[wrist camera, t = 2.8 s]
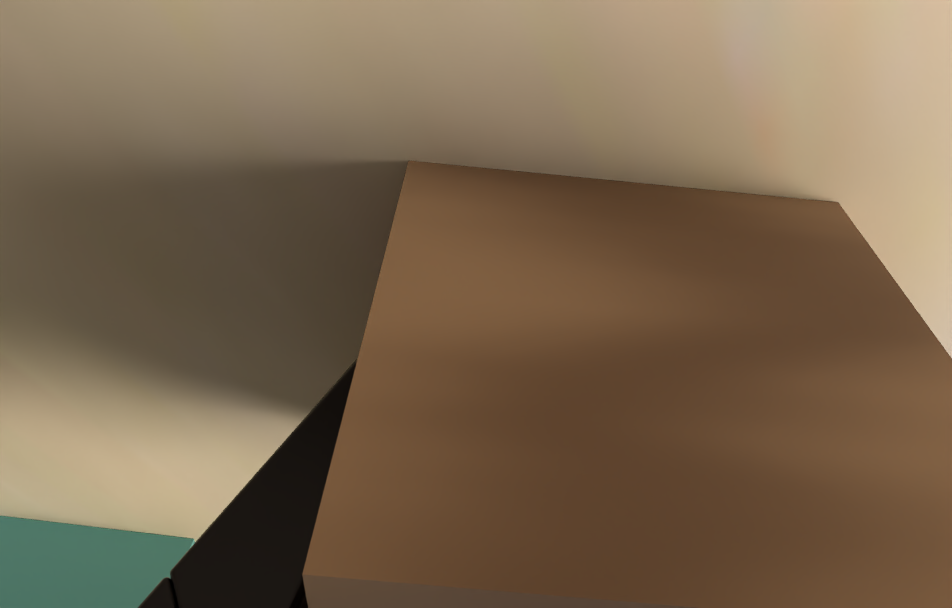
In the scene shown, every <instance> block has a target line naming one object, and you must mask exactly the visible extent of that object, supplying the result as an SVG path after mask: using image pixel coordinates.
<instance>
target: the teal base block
mask: <svg viewBox="0 0 952 608" xmlns="http://www.w3.org/2000/svg"><path fill="white" fill-rule="evenodd" d="M194 543H195V542H194V539H191V538H183V537H175V536H166V535H158V534H149V533H141V532H133V531H124V530H116V529H108V528H99V527H91V526H82V525H74V524H66V523H57V522H49V521H41V520H32V519H24V518H15V517H7V516H0V608H138V606H139V605H140V604H141V603H142V602H143V601H144V600H145V598H146V597H147V596H148V595H149V594H150V593H151V592H152V590H153V589H154V588H155V587H156V586H157V585H158V584H159V582H160V581H161V580H162V579H163V578H165V577H169V578H170V571H171V569H172V568H173V567H174V566H175V565H176V564H177V563H178V561H179V560H180V559H181V558H182V557H183V556H184V555H185V554H186V552H187V551H188V550H189V549H190V548H191V547H192V546H193V544H194ZM170 579H171V578H170Z"/></svg>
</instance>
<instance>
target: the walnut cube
mask: <svg viewBox="0 0 952 608" xmlns="http://www.w3.org/2000/svg"><path fill="white" fill-rule="evenodd" d="M302 576H303V582H304V587H305V593H306V598H307V604H308V608H952V358H951V357H950V356H949V354H948V353H947V352H946V350H945V349H944V347H943V346H942V345H941V343H940V342H939V341H938V339H937V338H936V336H935V335H934V334H933V332H932V331H931V330H930V328H929V327H928V325H927V324H926V323H925V321H924V320H923V319H922V317H921V316H920V314H919V313H918V312H917V310H916V309H915V308H914V306H913V305H912V303H911V302H910V301H909V299H908V298H907V297H906V295H905V294H904V292H903V291H902V290H901V288H900V287H899V286H898V284H897V283H896V281H895V280H894V279H893V277H892V276H891V275H890V273H889V272H888V270H887V269H886V268H885V266H884V265H883V264H882V262H881V261H880V259H879V258H878V257H877V255H876V254H875V253H874V251H873V250H872V248H871V247H870V246H869V244H868V243H867V242H866V240H865V239H864V237H863V236H862V235H861V233H860V232H859V231H858V229H857V228H856V226H855V225H854V224H853V222H852V221H851V219H850V218H849V217H848V215H847V214H846V213H845V211H844V210H843V208H842V207H841V206H840V204H839V203H838V202H828V201H817V200H807V199H797V198H787V197H776V196H766V195H756V194H746V193H735V192H725V191H715V190H705V189H694V188H684V187H674V186H664V185H653V184H643V183H633V182H623V181H612V180H602V179H592V178H582V177H571V176H561V175H551V174H541V173H530V172H520V171H510V170H500V169H489V168H479V167H469V166H459V165H448V164H438V163H428V162H418V161H408V165H407V169H406V173H405V177H404V181H403V184H402V188H401V192H400V196H399V200H398V204H397V208H396V212H395V216H394V219H393V223H392V227H391V231H390V235H389V239H388V243H387V247H386V251H385V254H384V258H383V262H382V266H381V270H380V274H379V278H378V282H377V286H376V289H375V293H374V297H373V301H372V305H371V309H370V313H369V317H368V321H367V325H366V328H365V332H364V336H363V340H362V344H361V348H360V352H359V356H358V360H357V363H356V367H355V371H354V375H353V379H352V383H351V387H350V391H349V395H348V398H347V402H346V406H345V410H344V414H343V418H342V422H341V426H340V430H339V433H338V437H337V441H336V445H335V449H334V453H333V457H332V461H331V465H330V468H329V472H328V476H327V480H326V484H325V488H324V492H323V496H322V500H321V503H320V507H319V511H318V515H317V519H316V523H315V527H314V531H313V535H312V539H311V542H310V546H309V550H308V554H307V558H306V562H305V566H304V570H303V574H302Z"/></svg>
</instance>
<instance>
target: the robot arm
mask: <svg viewBox="0 0 952 608" xmlns="http://www.w3.org/2000/svg"><path fill="white" fill-rule="evenodd" d="M357 360H358V359H357ZM357 360H356V361H355V362H354V363H353V364H352V365H351V366H350V367H349V369H348V370H347V371H346V372H345V373H344V374H343V375H342V377H341V378H340V379H339V380H338V381H337V382H336V383H335V385H334V386H333V387H332V388H331V389H330V390H329V391H328V392H327V394H326V395H325V396H324V397H323V398H322V399H321V400H320V402H319V403H318V404H317V405H316V406H315V407H314V408H313V409H312V411H311V412H310V413H309V414H308V415H307V416H306V417H305V419H304V420H303V421H302V422H301V423H300V424H299V425H298V426H297V428H296V429H295V430H294V431H293V432H292V433H291V434H290V436H289V437H288V438H287V439H286V440H285V441H284V442H283V443H282V445H281V446H280V447H279V448H278V449H277V450H276V451H275V453H274V454H273V455H272V456H271V457H270V458H269V459H268V461H267V462H266V463H265V464H264V465H263V466H262V467H261V468H260V470H259V471H258V472H257V473H256V474H255V475H254V476H253V478H252V479H251V480H250V481H249V482H248V483H247V484H246V485H245V487H244V488H243V489H242V490H241V491H240V492H239V493H238V495H237V496H236V497H235V498H234V499H233V500H232V501H231V502H230V504H229V505H228V506H227V507H226V508H225V509H224V510H223V512H222V513H221V514H220V515H219V516H218V517H217V518H216V520H215V521H214V522H213V523H212V524H211V525H210V526H209V527H208V529H207V530H206V531H205V532H204V533H203V534H202V535H201V537H200V538H199V539H198V540H197V541H196V542H195V543H194V544H193V546H192V547H191V548H190V549H189V550H188V551H187V552H186V554H185V555H184V556H183V557H182V558H181V559H180V560H179V561H178V563H177V564H176V565H175V566H174V567H173V568H172V569H171V571H170V578H171V579H170V578H169V577H165V578H163V579H162V580H161V581H160V582H159V584H158V585H157V586H156V587H155V588H154V589H153V590H152V592H151V593H150V594H149V595H148V596H147V597H146V598H145V600H144V601H143V602H142V603H141V604H140V605H139V606H138V608H308V604H307V598H306V593H305V587H304V582H303V576H302V574H303V570H304V566H305V562H306V558H307V554H308V550H309V546H310V542H311V539H312V535H313V531H314V527H315V523H316V519H317V515H318V511H319V507H320V503H321V500H322V496H323V492H324V488H325V484H326V480H327V476H328V472H329V468H330V465H331V461H332V457H333V453H334V449H335V445H336V441H337V437H338V433H339V430H340V426H341V422H342V418H343V414H344V410H345V406H346V402H347V398H348V395H349V391H350V387H351V383H352V379H353V375H354V371H355V367H356V363H357Z"/></svg>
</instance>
